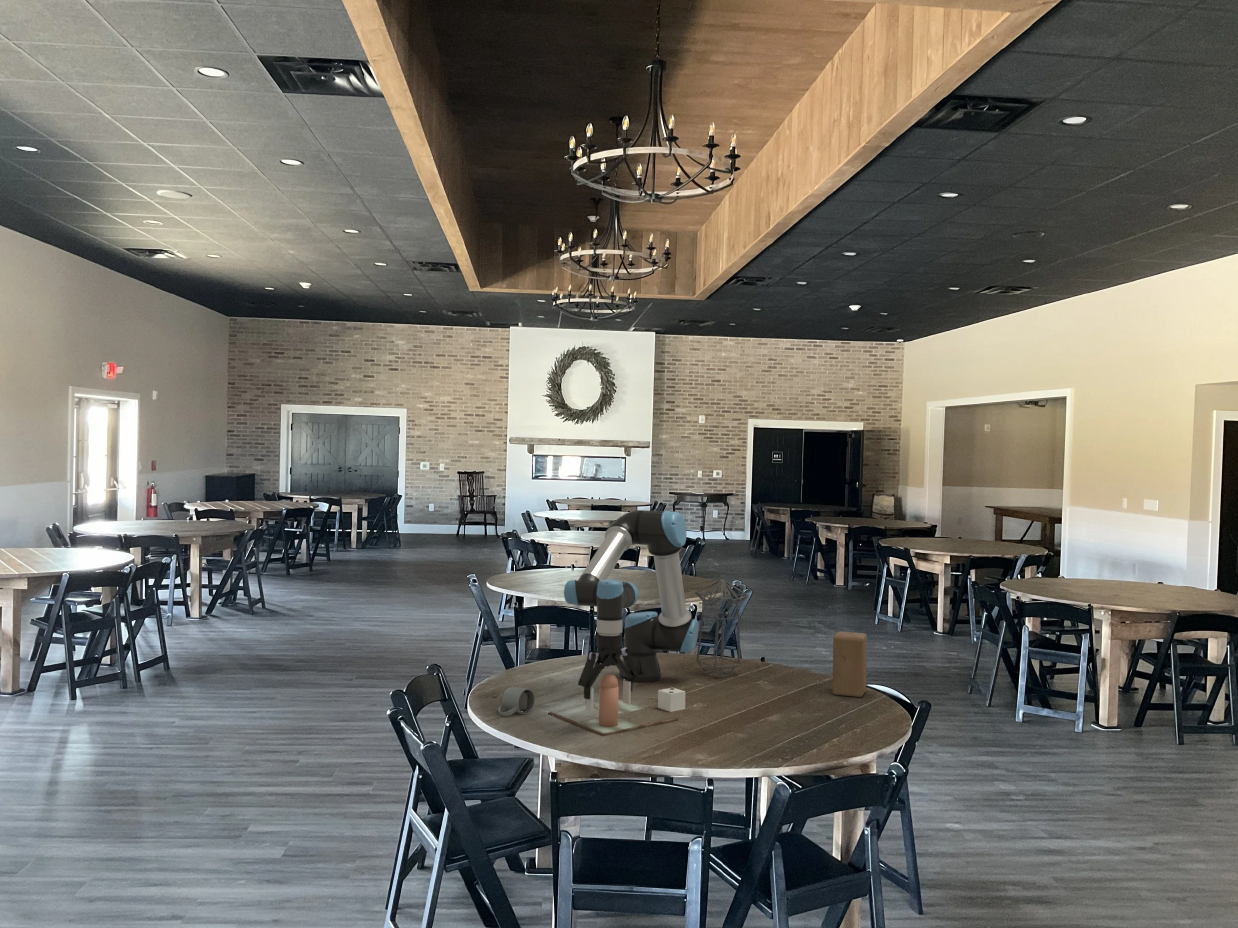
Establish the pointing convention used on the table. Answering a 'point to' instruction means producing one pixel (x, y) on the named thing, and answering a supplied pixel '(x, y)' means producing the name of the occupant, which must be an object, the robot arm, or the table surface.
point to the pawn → (608, 701)
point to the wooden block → (849, 664)
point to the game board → (622, 724)
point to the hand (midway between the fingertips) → (608, 706)
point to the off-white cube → (671, 699)
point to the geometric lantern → (726, 585)
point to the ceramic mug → (517, 701)
